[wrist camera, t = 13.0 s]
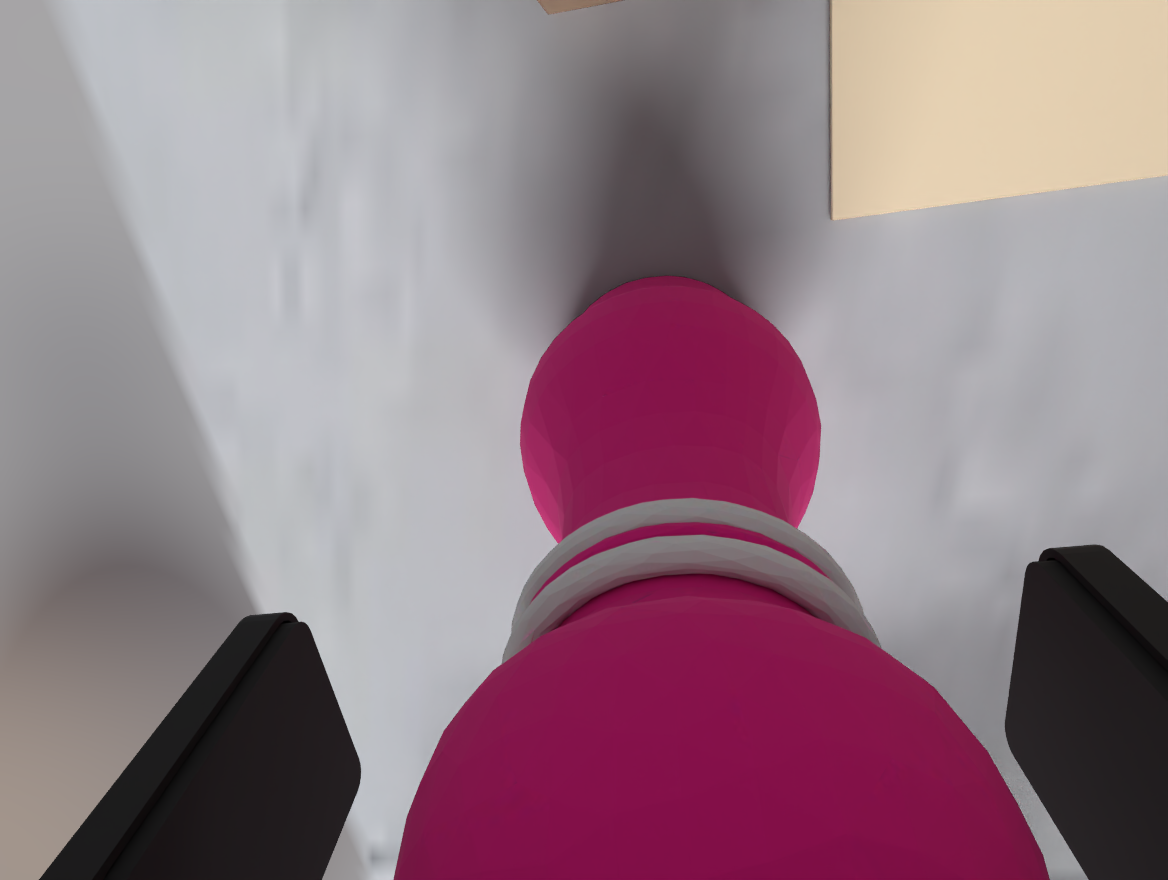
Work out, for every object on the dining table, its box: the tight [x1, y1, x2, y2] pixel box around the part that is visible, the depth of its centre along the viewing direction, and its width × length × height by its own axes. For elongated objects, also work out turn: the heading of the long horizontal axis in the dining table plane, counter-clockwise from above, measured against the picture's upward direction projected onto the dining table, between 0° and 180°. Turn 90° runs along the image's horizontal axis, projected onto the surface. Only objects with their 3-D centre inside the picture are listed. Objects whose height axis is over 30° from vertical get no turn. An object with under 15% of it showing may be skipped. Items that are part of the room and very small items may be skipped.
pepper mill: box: [394, 276, 1050, 880], centre depth 12 cm, size 7×7×20 cm
